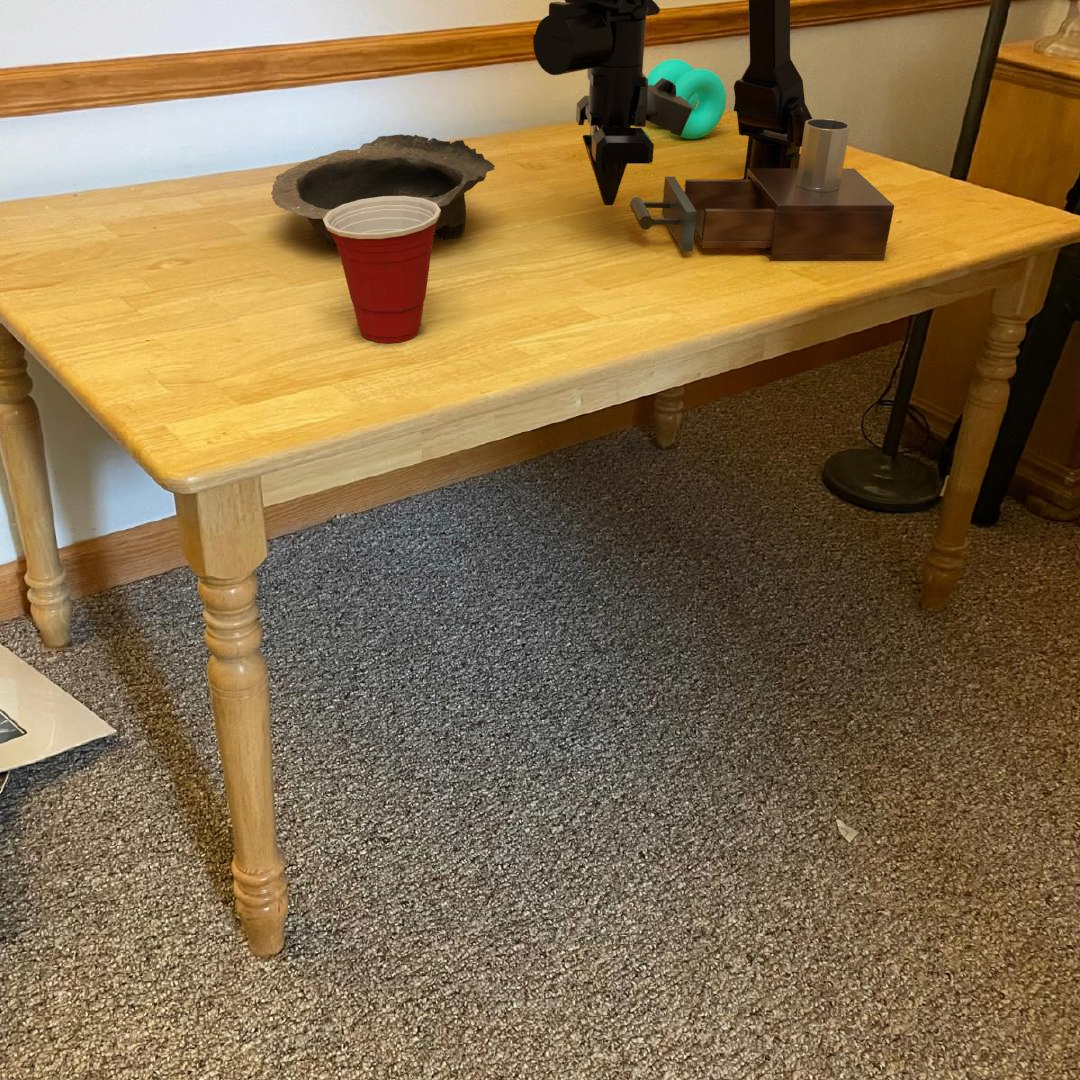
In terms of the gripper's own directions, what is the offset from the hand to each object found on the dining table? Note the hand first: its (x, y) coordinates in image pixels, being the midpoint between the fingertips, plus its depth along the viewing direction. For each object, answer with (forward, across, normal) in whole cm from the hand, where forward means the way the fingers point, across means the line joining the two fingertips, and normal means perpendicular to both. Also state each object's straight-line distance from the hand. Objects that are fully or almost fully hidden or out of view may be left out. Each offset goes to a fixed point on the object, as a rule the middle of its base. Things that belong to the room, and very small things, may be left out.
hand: (608, 204), depth 137 cm
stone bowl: (+4, +2, +26) cm, 27 cm away
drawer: (+3, 0, -12) cm, 12 cm away
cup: (-2, 0, -25) cm, 25 cm away
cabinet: (+4, 0, -25) cm, 25 cm away
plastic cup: (+4, -26, +25) cm, 37 cm away
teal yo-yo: (+4, +48, -18) cm, 51 cm away
